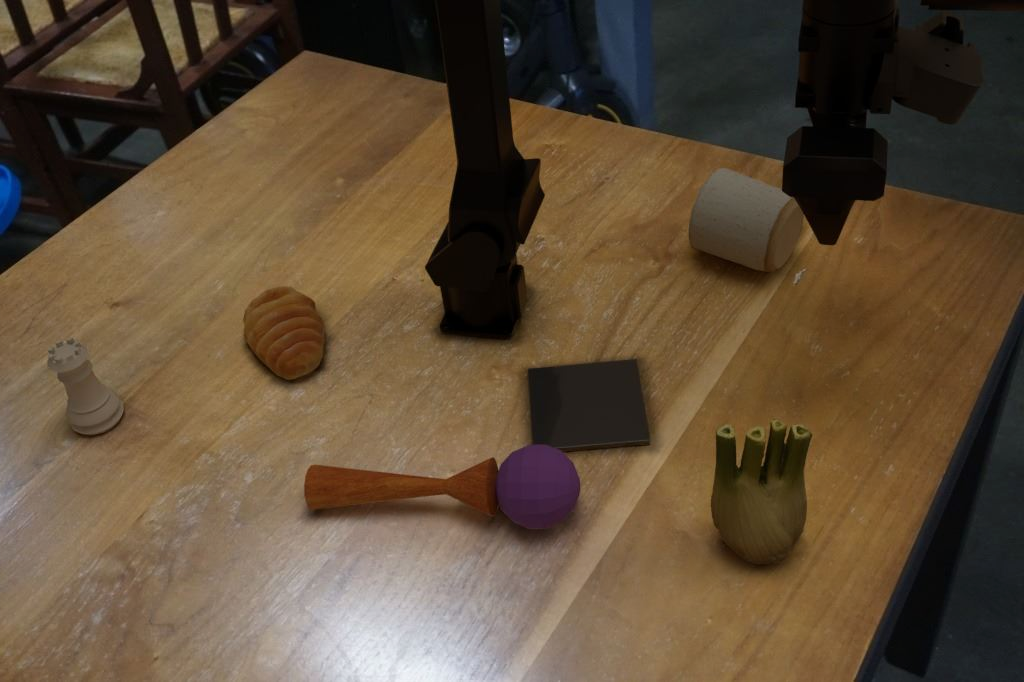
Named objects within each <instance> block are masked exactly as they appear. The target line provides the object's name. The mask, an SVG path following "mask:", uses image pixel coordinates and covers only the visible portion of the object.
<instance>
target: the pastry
mask: <svg viewBox="0 0 1024 682" xmlns="http://www.w3.org/2000/svg"><path fill="white" fill-rule="evenodd" d="M242 322H243V339H244V341H246V343H247V344H248V346H249V348H250V349H251V351H252V352H253V354H255V356H256V357H257V358H258V359H259V361H261V362H262V363H263V364H264V365H265V366H266V367H267V368H268V369H269V370H270V371H272V373H274V374H275V376H278V377H280V378H283V379H285V380H295V379H297V378H300V377H304V376H305V375H308V374H311V372H313V371H314V370H316V369H317V368H318V367H319V366H320V364H321V361H322V359H323V357H324V346H325V342H326V338H325V321H324V319H323V318H322V316H320V315H319V312H318V311H317V308H316V302H315V300H313V299H312V298H310V297H309V296H307V295H306V294H305V293H303V292H300V291H299V290H296V289H295V288H294V287H292V286H287V285H284V286H283V285H282V286H276V287H272V288H269V289H266V290H264V291H263V292H261V293H260V294H259V295H258V296H257V297H255V298H253V299H251V301H250V302H249V304H248V305H247V306H246V308H245V310H244V314H243V317H242Z"/></svg>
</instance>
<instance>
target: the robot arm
mask: <svg viewBox="0 0 1024 682" xmlns="http://www.w3.org/2000/svg"><path fill="white" fill-rule="evenodd" d="M434 2H435V10H436V11H435V12H436V19H437V25H438V33H439V39H440V47H441V53H442V62H443V68H444V76H445V82H446V89H447V98H448V104H449V105H448V106H449V111H450V112H449V113H450V119H451V126H452V132H453V133H452V134H453V142H454V147H455V156H456V163H457V164H456V171H455V175H454V180H453V185H452V189H451V190H452V191H451V196H450V201H449V206H448V208H449V209H448V221H447V223H446V225H445V227H444V229H443V231H442V233H441V234H440V237H439V238H438V241H437V242H436V244H435V246H434V248H433V250H432V252H431V254H430V256H429V258H428V260H427V261H426V263H425V266H424V269H425V271H426V273H427V274H428V276H429V278H430V280H431V281H432V283H433V285H434V286H436V287H439V288H440V289H439V290H440V294H441V300H442V307H443V312H444V313H443V316H442V317H441V321H440V323H439V326H438V327H439V331H440V333H443V334H450V335H461V336H473V337H482V338H493V339H503V340H504V339H505V340H507V339H512V337H513V336H514V333H515V331H516V330H515V329H516V327H517V324H518V321H520V320H521V319H522V318H523V316H524V312H525V309H526V306H527V303H528V291H527V283H526V282H527V281H526V275H525V267H524V265H523V264H520V263H519V264H518V257H517V253H518V251H519V248H520V246H521V245H525V244H526V241H527V240H528V236H529V234H530V232H531V230H532V228H533V225H534V222H535V220H536V217H537V216H538V213H539V211H540V209H541V207H542V204H543V201H544V199H545V196H546V193H545V191H544V190H543V188H542V185H541V181H540V174H541V166H542V163H541V159H540V158H539V157H538V158H537V157H536V158H535V157H534V158H524V157H523V155H522V153H521V152H520V151H519V150H518V148H517V147H516V145H515V144H516V143H515V139H514V132H513V122H512V121H513V120H512V112H511V111H512V110H511V102H510V101H511V100H510V90H509V79H508V70H507V59H506V49H505V39H504V28H503V26H504V25H503V18H502V7H501V0H434ZM897 3H898V0H802V6H801V19H800V27H799V33H798V46H797V52H798V53H799V57H798V75H797V81H796V88H795V99H794V108H795V109H807V112H808V115H809V118H810V121H811V125H802V126H800V127H799V128H798V129H796V131H794V132H793V133H791V134H790V135H789V136H787V137H786V144H785V151H784V156H783V157H784V159H783V165H782V180H781V189H782V192H784V193H785V194H787V195H788V196H789V197H794V199H795V200H796V202H797V204H798V205H799V207H800V208H801V210H802V212H803V214H804V218H805V219H806V221H807V223H808V225H809V227H810V229H811V231H812V233H813V234H814V236H815V239H816V240H817V242H818V243H819V245H821V246H836V244H837V242H838V240H839V238H840V237H841V233H842V231H843V229H844V226H845V224H846V222H847V219H848V217H849V215H850V212H851V210H852V209H853V207H854V205H855V202H856V201H865V202H875V201H877V200H880V199H881V198H883V197H884V196H885V188H886V181H887V173H888V148H889V141H888V140H887V138H886V137H884V136H883V135H882V134H881V133H880V132H879V131H878V130H877V129H876V128H874V127H867V119H868V111H869V113H870V114H873V115H891V112H892V103H893V101H894V102H895V104H897V105H899V106H901V107H904V108H906V109H909V110H912V111H916V112H917V113H918V112H919V113H921V114H924V115H928V116H930V117H933V118H935V119H937V121H938V122H939V123H942V124H945V125H950V126H951V125H953V126H954V125H956V124H958V123H959V122H960V120H961V119H962V117H963V116H964V114H965V112H966V111H967V110H968V108H969V106H970V105H971V104H972V101H973V100H974V98H975V97H976V95H977V94H978V92H979V90H980V89H981V87H982V86H983V84H984V74H983V59H982V56H981V54H980V53H979V52H978V51H977V49H976V43H974V42H972V41H969V42H968V43H967V44H966V45H965V44H964V35H965V34H964V31H965V29H964V27H965V25H964V16H963V15H961V14H959V13H955V12H953V11H983V12H984V11H989V12H990V11H993V12H995V11H996V12H1024V0H920V2H919V3H920V4H919V6H925V7H927V8H926V10H928V11H939V12H937V13H936V14H935V15H933V16H932V17H930V18H929V19H928V20H926V21H924V22H923V23H922V24H918V23H917V24H916V25H915V27H914V28H913V29H910V28H907V27H903V26H899V22H900V10H901V9H900V7H897Z"/></svg>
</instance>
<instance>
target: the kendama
mask: <svg viewBox="0 0 1024 682" xmlns="http://www.w3.org/2000/svg"><path fill="white" fill-rule="evenodd" d="M303 495H304V500H305V503H306V506H307V507H308V508H309V509H310V510H311V511H312V510H322V509H329V508H330V509H331V508H338V507H339V508H340V507H347V506H355V505H363V504H372V503H382V502H390V501H400V500H409V499H416V498H425V497H434V496H441V495H442V496H443V495H446V496H448V497H450V498H452V499H454V500H457V501H459V502H461V503H463V504H465V505H468V506H469V507H471V508H474V509H475V510H478V511H480V512H482V513H484V514H486V515H488V516H490V517H494V516H495V515H496V514H497V512H498V508H500V509H501V511H502V512H503V513H504V514H505V515H506V516H507V517H508V518H509V519H510V520H511V522H513V523H514V524H516V525H519V526H521V527H523V528H526V529H528V530H546V529H549V528H551V527H553V526H556V525H559V524H561V523H562V522H563V521H565V519H566V518H568V517H569V515H570V514H571V513H572V512H573V511H574V510H575V508H576V505H577V503H578V500H579V497H580V495H581V478H580V475H579V473H578V471H577V468H576V466H575V464H574V462H573V461H572V460H571V458H570V457H568V455H566V453H564V452H562V451H561V450H558V449H556V448H554V447H551V446H549V445H546V444H545V445H532V444H527V445H525V446H523V447H520V448H518V449H516V450H513V451H511V452H510V453H509V454H508V456H507V457H506V458H505V459H504V460H503V461H502V462H501V463H500V466H498V462H497V460H496V458H495V457H494V456H493V457H490V458H487V459H485V460H483V461H481V462H479V463H477V464H475V465H472V466H471V467H468V468H467V469H464V470H462V471H460V472H458V473H456V474H453V475H452V476H450V477H448V478H447V477H446V478H442V477H441V478H439V477H433V476H432V477H430V476H421V475H413V474H404V473H395V472H384V471H376V470H366V469H356V468H348V467H342V466H341V467H340V466H331V465H321V464H311V465H310V466H309V467H308V468H307V471H306V474H305V476H304V484H303Z"/></svg>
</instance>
